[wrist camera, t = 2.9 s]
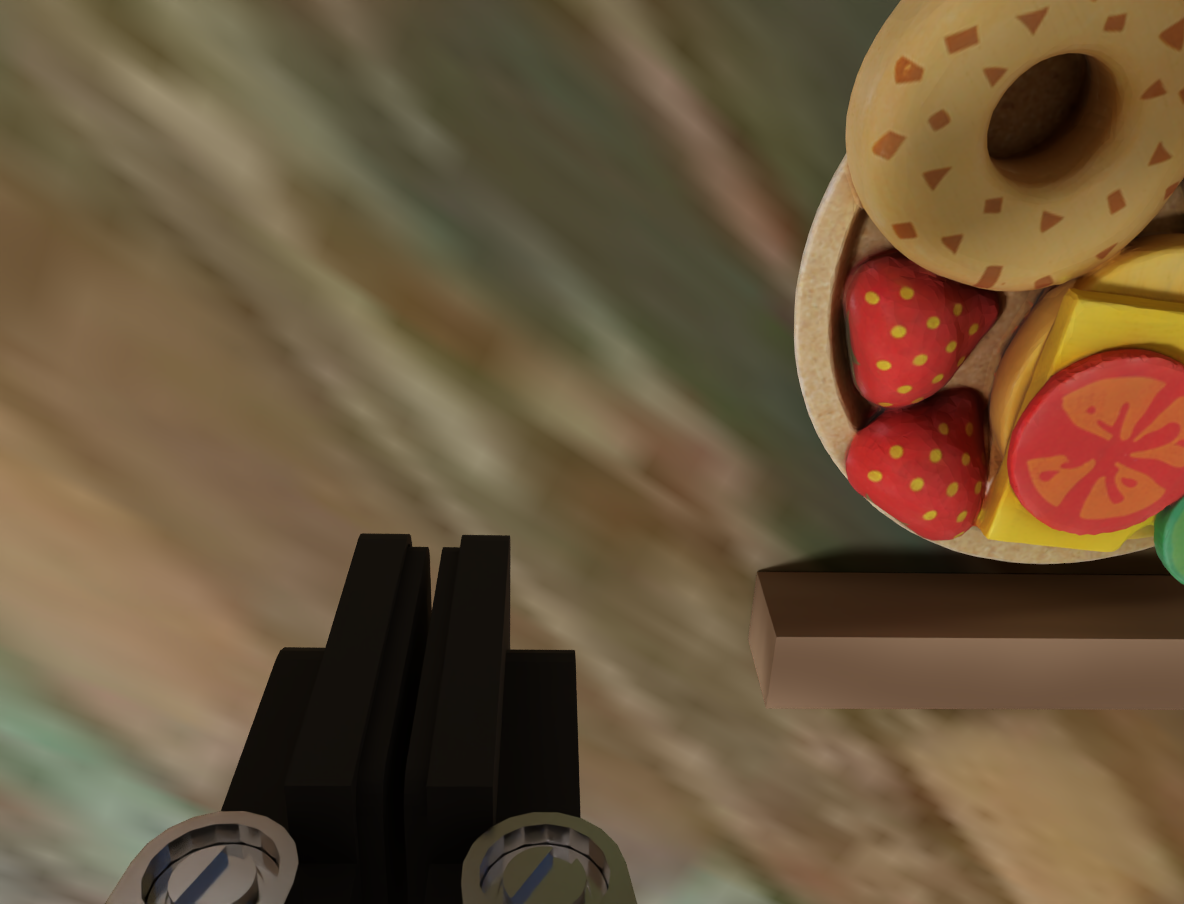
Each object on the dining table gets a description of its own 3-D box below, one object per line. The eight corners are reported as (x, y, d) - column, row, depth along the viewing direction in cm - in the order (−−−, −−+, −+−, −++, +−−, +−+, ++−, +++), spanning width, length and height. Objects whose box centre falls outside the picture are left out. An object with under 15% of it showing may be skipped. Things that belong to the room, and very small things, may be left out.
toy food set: (875, -135, 20) (931, -134, 17) (1550, -28, 21) (1709, -10, 18) (729, 508, 26) (752, 589, 23) (1258, 560, 27) (1342, 643, 24)
